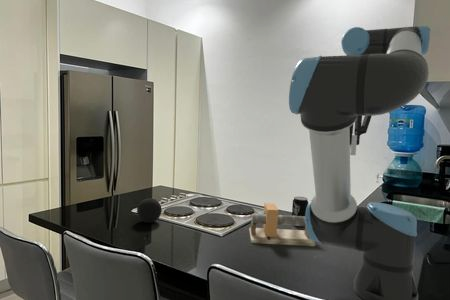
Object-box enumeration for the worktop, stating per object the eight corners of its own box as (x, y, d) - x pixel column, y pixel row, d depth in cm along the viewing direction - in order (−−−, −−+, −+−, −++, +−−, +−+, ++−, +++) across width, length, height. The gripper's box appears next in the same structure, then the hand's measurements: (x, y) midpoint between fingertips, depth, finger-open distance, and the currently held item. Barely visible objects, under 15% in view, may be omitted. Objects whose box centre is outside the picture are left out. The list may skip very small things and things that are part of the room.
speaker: (166, 221, 140) (166, 198, 139) (151, 227, 131) (152, 202, 130) (147, 217, 144) (147, 194, 144) (131, 223, 135) (132, 199, 134)
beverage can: (306, 228, 140) (308, 200, 139) (291, 226, 142) (293, 198, 141) (306, 223, 147) (308, 197, 146) (291, 222, 148) (293, 195, 147)
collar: (273, 228, 131) (274, 203, 130) (276, 237, 121) (278, 210, 120) (262, 227, 131) (264, 203, 130) (265, 236, 121) (267, 209, 120)
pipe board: (305, 233, 133) (307, 211, 133) (315, 246, 119) (316, 222, 119) (249, 230, 133) (250, 208, 133) (251, 242, 120) (252, 218, 119)
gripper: (372, 84, 110) (366, 154, 112) (333, 82, 110) (328, 152, 112) (383, 81, 103) (376, 157, 105) (341, 79, 103) (335, 154, 105)
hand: (351, 154), depth 109 cm, fingers closed
